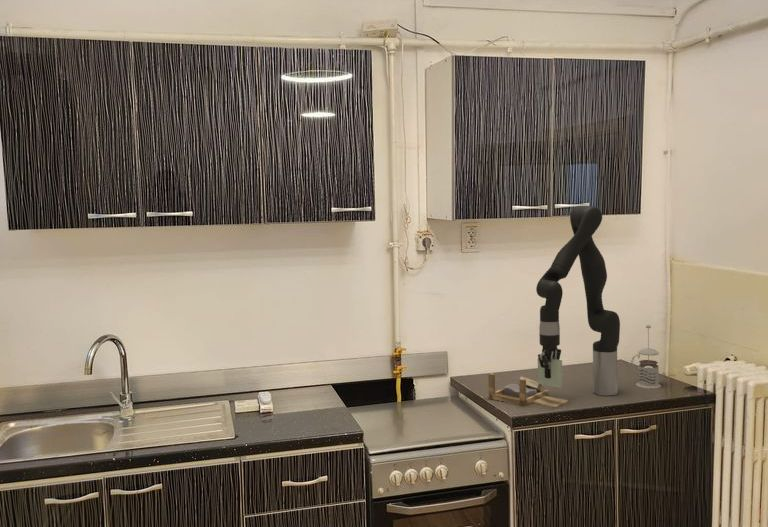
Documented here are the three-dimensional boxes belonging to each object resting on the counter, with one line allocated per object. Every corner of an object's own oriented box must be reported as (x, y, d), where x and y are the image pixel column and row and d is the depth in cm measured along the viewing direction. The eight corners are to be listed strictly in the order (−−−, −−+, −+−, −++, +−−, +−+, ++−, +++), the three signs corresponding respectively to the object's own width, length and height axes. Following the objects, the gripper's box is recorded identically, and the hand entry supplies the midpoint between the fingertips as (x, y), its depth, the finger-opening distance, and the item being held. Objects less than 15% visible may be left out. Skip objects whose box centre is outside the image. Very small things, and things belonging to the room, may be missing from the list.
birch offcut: (522, 386, 286) (525, 380, 287) (541, 392, 282) (543, 386, 283) (518, 381, 282) (520, 376, 282) (536, 388, 277) (539, 382, 278)
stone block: (518, 395, 286) (501, 394, 281) (520, 383, 286) (502, 383, 281) (540, 402, 277) (522, 402, 271) (542, 390, 277) (524, 390, 271)
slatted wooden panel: (545, 397, 275) (545, 396, 275) (568, 401, 268) (568, 400, 268) (532, 402, 268) (532, 401, 268) (556, 407, 261) (556, 406, 261)
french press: (657, 389, 279) (657, 328, 277) (628, 385, 286) (627, 325, 284) (664, 384, 287) (664, 323, 285) (635, 380, 294) (635, 321, 292)
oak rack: (514, 388, 289) (513, 364, 288) (548, 395, 278) (548, 370, 277) (488, 398, 276) (488, 374, 275) (523, 406, 265) (523, 380, 264)
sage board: (541, 382, 271) (541, 357, 270) (562, 386, 265) (562, 360, 264) (537, 383, 269) (537, 358, 269) (558, 387, 263) (558, 361, 262)
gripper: (548, 336, 258) (549, 382, 259) (567, 330, 268) (568, 375, 269) (531, 334, 263) (531, 379, 265) (550, 328, 273) (550, 372, 275)
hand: (549, 377), depth 267 cm, fingers closed on sage board, 2 cm apart
